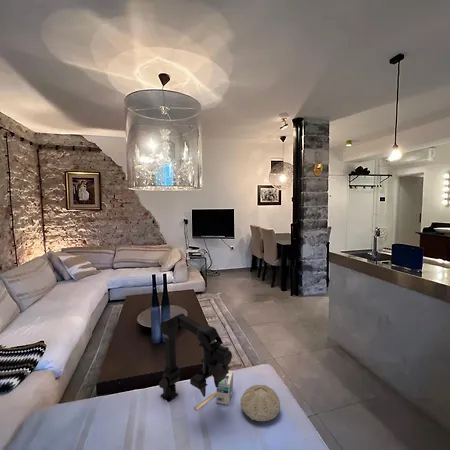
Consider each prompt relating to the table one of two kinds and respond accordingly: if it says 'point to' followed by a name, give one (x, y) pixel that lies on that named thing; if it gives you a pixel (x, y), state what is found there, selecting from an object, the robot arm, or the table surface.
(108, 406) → the table surface
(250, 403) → the beige carved stone
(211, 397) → the rail
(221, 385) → the light bulb box
